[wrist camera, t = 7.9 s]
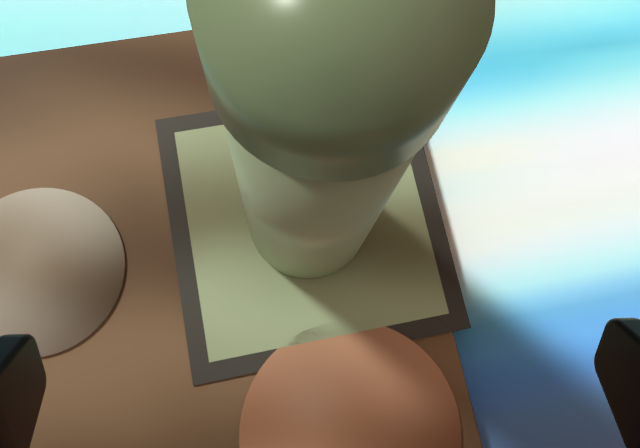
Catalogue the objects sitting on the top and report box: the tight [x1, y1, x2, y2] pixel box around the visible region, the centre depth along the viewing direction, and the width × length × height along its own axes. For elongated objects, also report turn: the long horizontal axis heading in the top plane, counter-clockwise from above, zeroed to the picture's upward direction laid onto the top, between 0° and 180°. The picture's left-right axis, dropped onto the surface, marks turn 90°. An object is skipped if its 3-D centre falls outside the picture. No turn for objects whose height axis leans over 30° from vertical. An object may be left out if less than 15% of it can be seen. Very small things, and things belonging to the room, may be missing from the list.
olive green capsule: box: [186, 0, 495, 279], centre depth 13 cm, size 4×4×12 cm
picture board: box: [0, 30, 482, 448], centre depth 19 cm, size 18×17×1 cm
